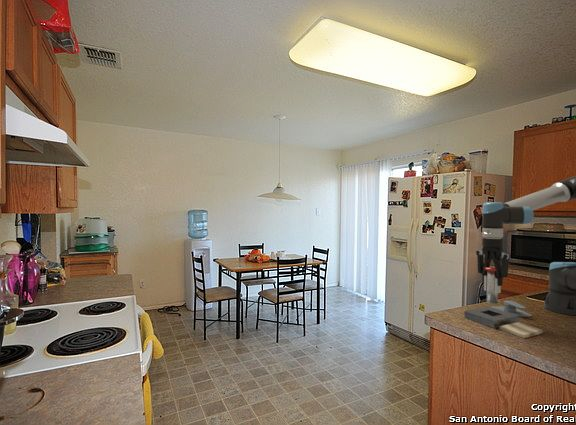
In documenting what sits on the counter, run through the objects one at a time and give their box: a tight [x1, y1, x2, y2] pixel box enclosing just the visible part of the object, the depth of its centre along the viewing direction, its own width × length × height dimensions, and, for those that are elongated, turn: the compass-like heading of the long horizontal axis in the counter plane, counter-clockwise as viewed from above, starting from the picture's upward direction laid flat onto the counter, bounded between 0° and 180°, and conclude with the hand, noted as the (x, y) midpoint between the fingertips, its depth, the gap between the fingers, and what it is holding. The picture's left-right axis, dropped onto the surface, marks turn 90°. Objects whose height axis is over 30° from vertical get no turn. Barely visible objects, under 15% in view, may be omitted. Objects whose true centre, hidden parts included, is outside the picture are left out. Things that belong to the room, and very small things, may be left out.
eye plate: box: [464, 306, 520, 329], centre depth 134 cm, size 16×13×3 cm
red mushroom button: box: [484, 265, 499, 305], centre depth 134 cm, size 6×6×15 cm
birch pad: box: [498, 321, 544, 339], centre depth 122 cm, size 12×9×1 cm
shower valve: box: [491, 300, 533, 318], centre depth 143 cm, size 12×6×15 cm
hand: (492, 291), depth 134 cm, fingers closed on red mushroom button, 4 cm apart
